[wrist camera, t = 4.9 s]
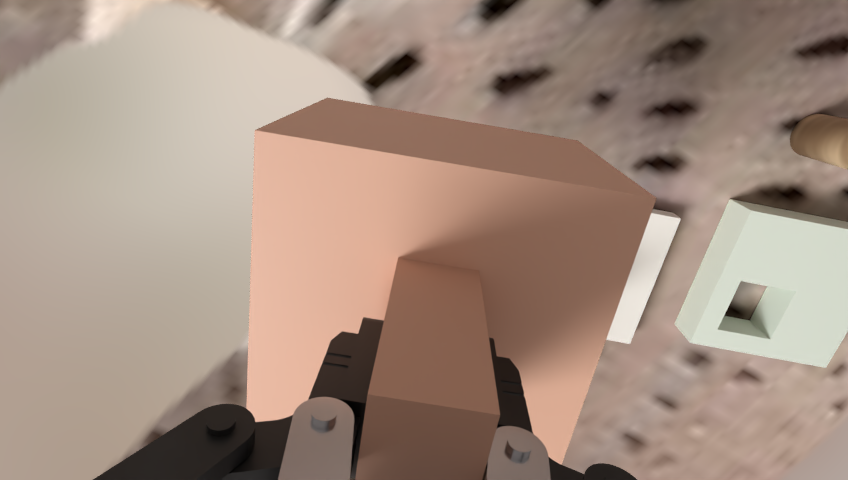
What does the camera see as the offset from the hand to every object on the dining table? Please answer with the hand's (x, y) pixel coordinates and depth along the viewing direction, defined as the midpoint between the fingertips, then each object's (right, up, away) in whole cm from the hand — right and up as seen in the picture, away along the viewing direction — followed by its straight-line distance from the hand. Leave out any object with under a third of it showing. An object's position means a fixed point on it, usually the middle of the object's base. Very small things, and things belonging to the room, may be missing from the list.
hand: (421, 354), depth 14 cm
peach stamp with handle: (0, +4, +9) cm, 10 cm away
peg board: (+30, 0, +28) cm, 41 cm away
